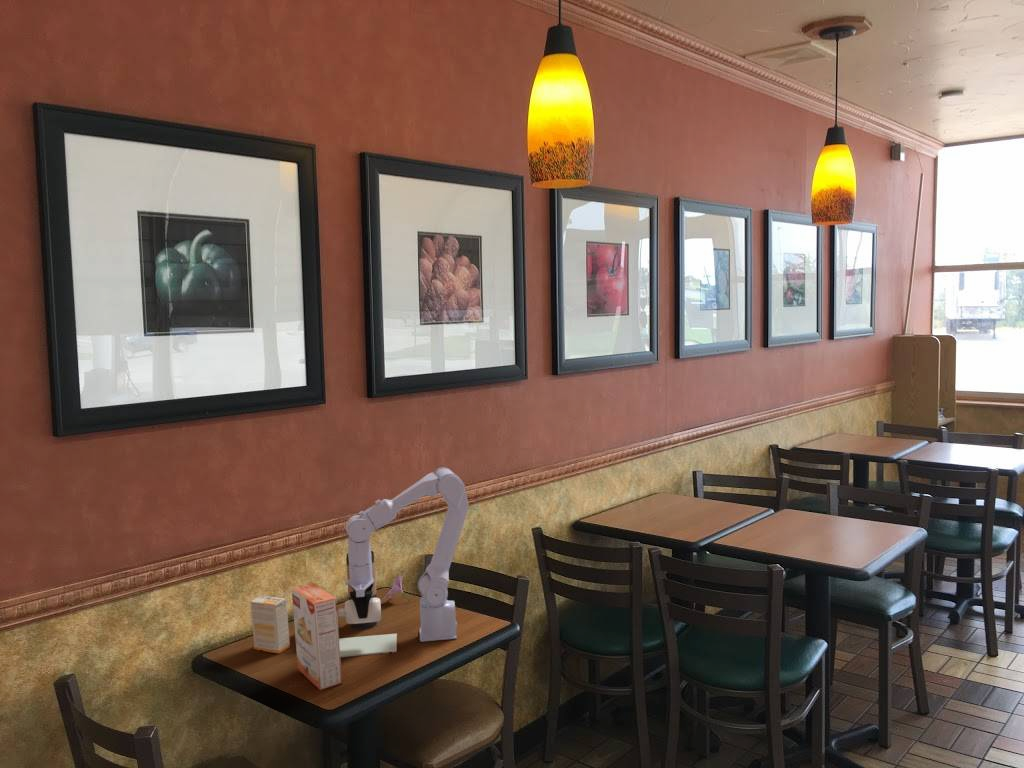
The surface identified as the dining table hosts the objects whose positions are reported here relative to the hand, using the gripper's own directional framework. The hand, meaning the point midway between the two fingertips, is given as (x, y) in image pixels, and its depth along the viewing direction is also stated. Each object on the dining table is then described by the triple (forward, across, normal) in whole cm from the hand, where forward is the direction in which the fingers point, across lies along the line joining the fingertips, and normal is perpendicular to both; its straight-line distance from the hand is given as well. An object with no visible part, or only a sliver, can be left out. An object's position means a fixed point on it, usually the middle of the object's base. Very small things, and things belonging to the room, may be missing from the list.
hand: (363, 614), depth 212 cm
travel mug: (+9, -15, -1) cm, 17 cm away
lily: (+9, -30, +8) cm, 33 cm away
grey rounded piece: (+1, 0, 0) cm, 1 cm away
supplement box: (+9, -4, -24) cm, 26 cm away
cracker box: (+9, +16, -10) cm, 21 cm away
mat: (+8, 0, 0) cm, 8 cm away
